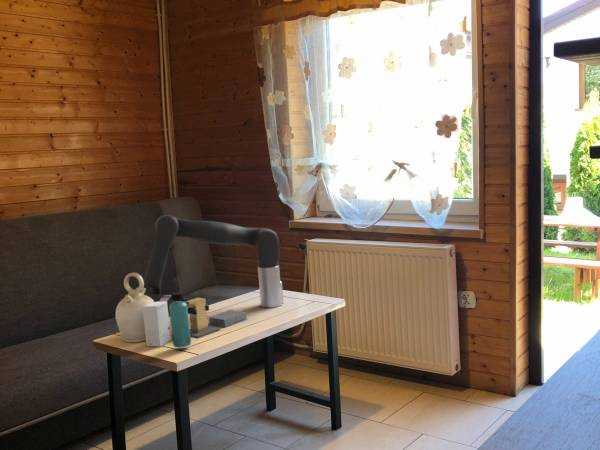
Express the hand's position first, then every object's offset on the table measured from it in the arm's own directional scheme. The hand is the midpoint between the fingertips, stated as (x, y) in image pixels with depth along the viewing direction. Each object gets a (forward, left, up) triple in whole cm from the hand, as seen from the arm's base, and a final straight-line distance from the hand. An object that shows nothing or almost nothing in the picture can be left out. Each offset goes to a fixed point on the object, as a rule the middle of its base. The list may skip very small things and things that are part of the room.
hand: (202, 309), depth 243 cm
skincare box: (+17, -6, -9) cm, 20 cm away
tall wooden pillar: (0, -3, -8) cm, 9 cm away
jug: (+16, -19, -9) cm, 26 cm away
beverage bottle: (+17, +7, -9) cm, 21 cm away
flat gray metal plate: (0, -3, -9) cm, 9 cm away
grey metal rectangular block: (-15, -3, -9) cm, 18 cm away
